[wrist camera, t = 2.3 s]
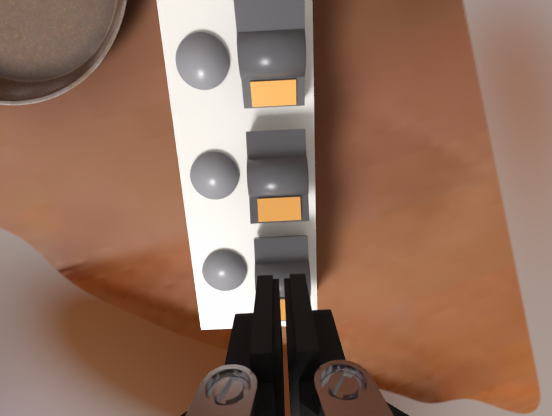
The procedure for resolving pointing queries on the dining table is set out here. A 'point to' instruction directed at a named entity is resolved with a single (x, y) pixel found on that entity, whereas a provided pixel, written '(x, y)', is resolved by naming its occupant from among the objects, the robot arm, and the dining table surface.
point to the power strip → (225, 153)
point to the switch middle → (277, 176)
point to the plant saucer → (53, 45)
